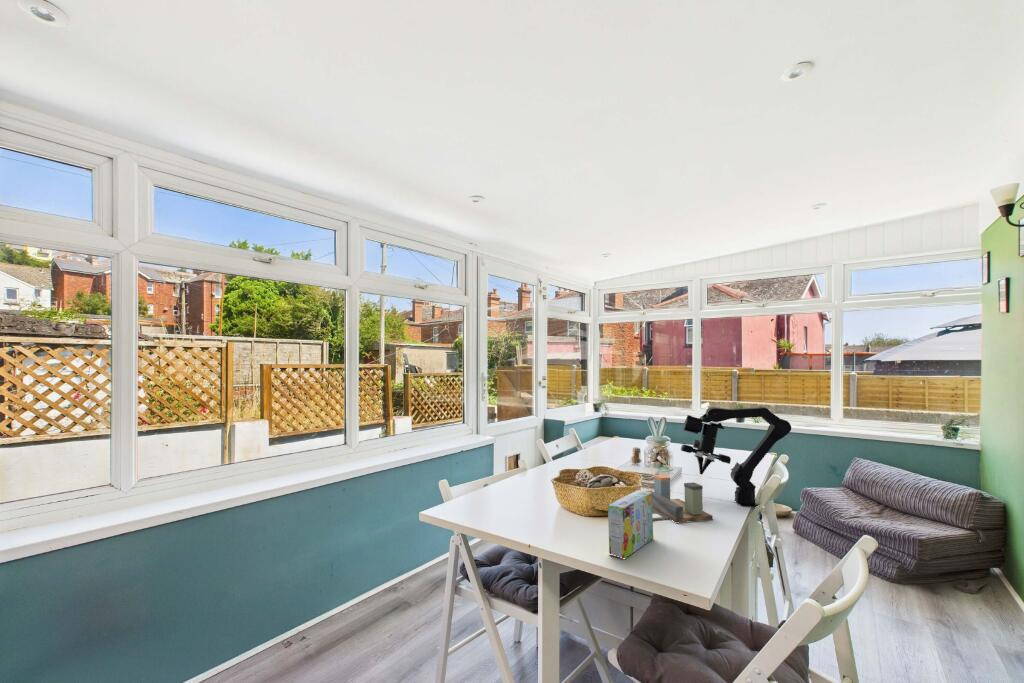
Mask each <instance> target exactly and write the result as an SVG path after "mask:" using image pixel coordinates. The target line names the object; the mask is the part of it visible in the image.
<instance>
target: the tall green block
mask: <svg viewBox="0 0 1024 683" xmlns="http://www.w3.org/2000/svg"><path fill="white" fill-rule="evenodd" d="M683 486H684V502H685V511H687V512H688V513H690V514H692V515H698V514H703V511H704V510H703V509H704V508H703V506H704V505H703V485H701V484H699V483H697V482H693V481H692V482H684V483H683Z"/></svg>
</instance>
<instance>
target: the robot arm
mask: <svg viewBox="0 0 1024 683" xmlns="http://www.w3.org/2000/svg"><path fill="white" fill-rule="evenodd" d="M747 418H761V419H762V420H764V421H765V422H766V423H767V424H768V425H769V426H768V427H767V430H766V433H765V435H764V437H763V438H762V439H761V440H760V441H759V443H758V444H757V446H756V447H754V449H753V451H752V452H751V453H750V454H749V455H748V457H747V458H746V459H745V460H744V462H742V463H739V462H736V463H735V464H734V466H733V467H732V468H731V469H730V470H731V472H730V478H731V480H732V481H733V482H734V484H735V485H736V487H735V491H734V502H735V501H736V502H737V503H736V502H735V503H736V504H738V505H739V504H740V505H739V506H741V505H744V506H743V507H758V504H757V503H756V488H757V486H756V485H755V484H754V483H753V482H752V481H751V479H752V477H753V474H754V471H755V469H756V467H757V466H758V465H759V464H760V463H761V461H762V460H764V458H765V457H766V455H768V454H767V453H768V452H770V451H771V449H772V448H773V446H774V445H775V444H776V443H777V442H779V441H780V440H782V439H783V438H785V437H786V436H787V435H788V434H790V432H791V431H792V425H791V423H790V422H789V421H788V420H786V419H783V418H780V417H778V416H777V415H776V414H775V413H773V412H771V411H770V410H769V409H768V408H767V407H764V406H759V407H745V408H744V407H743V408H724V407H716V406H710V407H708V408H707V409H706V411H705V413H704V414H702V416H700V417H696V416H692V415H689V414H687V415H686V418H685V421H684V422H683V427H682V428H683V429H682V430H683V431H684V432H688V433H693V434H696V435H698V434H700V433H701V435H700V440H698V439H694V441H693V444H692V446H691V445H688V444H685V443H684V444H681V447H680V451H682V452H684V453H688V454H691V453H693V454H694V457H695V458H696V459H697V462H698V470H699V475H703V474H704V472H705V471H706V470H707V468H708V467H709V465H711V463H712V462H713V463H714V462H716V461H715V459H716V460H718V461H721V463H725V464H729V465H730V464H731V461H732V458H731V456H728V455H726V454H721V453H718V454H717V453H714V452H715V446H716V442H717V437H718V432H719V429H720V430H724V429H725V427H724V426H723V425H722V423H721V422H723V421H727V420H731V419H747ZM703 456H704V457H703ZM749 505H750V506H749Z"/></svg>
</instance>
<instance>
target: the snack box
mask: <svg viewBox="0 0 1024 683" xmlns="http://www.w3.org/2000/svg"><path fill="white" fill-rule="evenodd" d="M647 491H648V490H639V489H637V490H636V491H633V492H631V493H630V494H627V495H625V496H623V497H621V498H619V499H617V500H616V501H615V500H614V502H613V503H611V504H609V505H608V511H607V524H608V553H610V554H613V555H616V556H619V557H622V558H626V557H627V556H629V555H630V554H631V555H633V554H634V553H635V552H637V551H638V550H640V549H641V548H642V547H644V546H645V545H646V544H648V543H649V542H650V541H652V540H653V539H654V523H653V522H654V521H653V516H652V493H651V492H647ZM651 539H652V540H651ZM647 542H648V543H647ZM644 544H645V545H644ZM640 547H641V548H640ZM637 549H638V550H637ZM636 550H637V551H636ZM633 552H634V553H633ZM632 553H633V554H632ZM631 555H630V556H631ZM630 556H629V557H630ZM627 558H628V557H627ZM627 558H626V559H627Z"/></svg>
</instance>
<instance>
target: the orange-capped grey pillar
mask: <svg viewBox="0 0 1024 683" xmlns="http://www.w3.org/2000/svg"><path fill="white" fill-rule="evenodd" d="M653 480H654V481H653V482H654V483H653V488H654V491H653V492H655V493H657V494H659V495H661V496H663V497H665V498H667V499H669V500H670V499H671V477H670V476H667V475H665V474H655V475H653Z"/></svg>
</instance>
